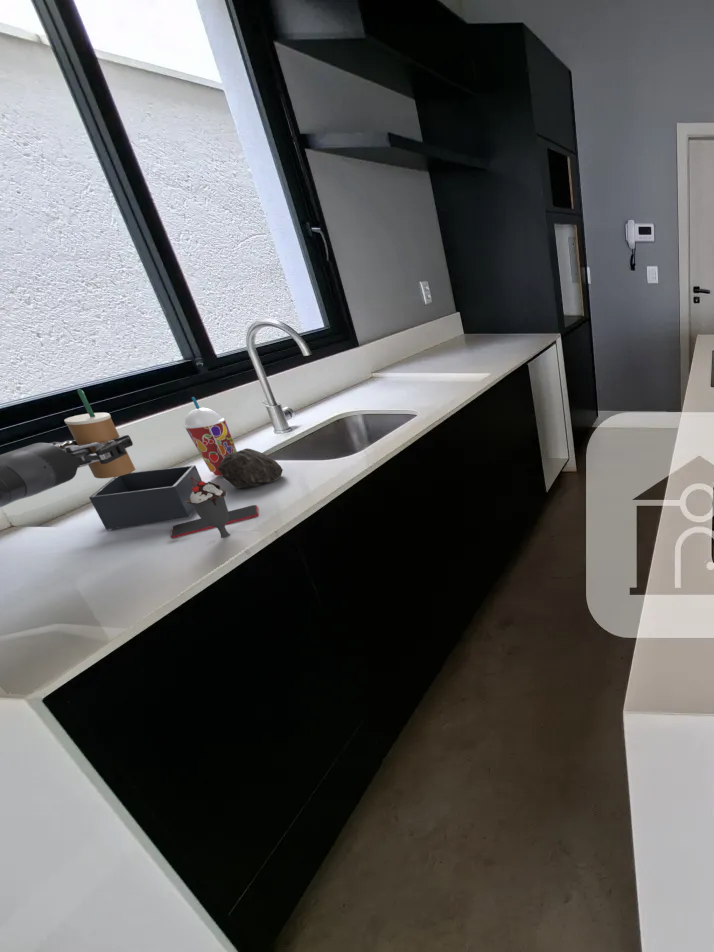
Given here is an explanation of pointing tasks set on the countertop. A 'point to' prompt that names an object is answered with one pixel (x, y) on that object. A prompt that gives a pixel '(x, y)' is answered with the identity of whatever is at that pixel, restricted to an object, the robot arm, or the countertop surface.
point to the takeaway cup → (98, 439)
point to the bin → (146, 497)
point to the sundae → (210, 505)
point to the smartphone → (201, 526)
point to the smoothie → (209, 436)
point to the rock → (249, 468)
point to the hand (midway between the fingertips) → (111, 440)
